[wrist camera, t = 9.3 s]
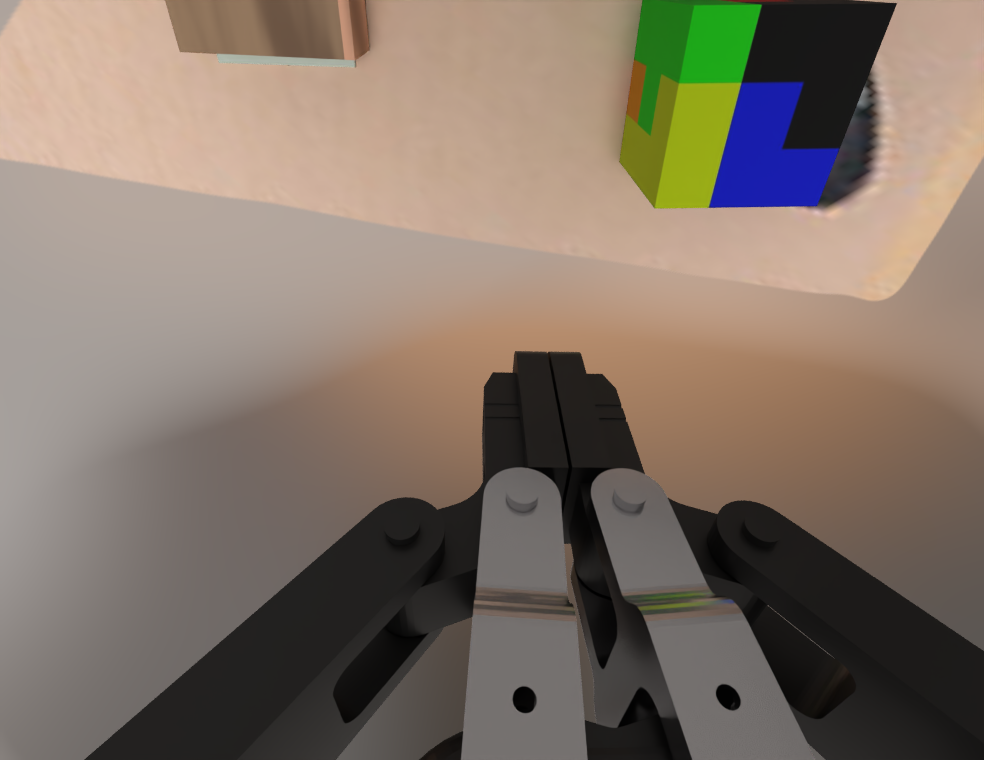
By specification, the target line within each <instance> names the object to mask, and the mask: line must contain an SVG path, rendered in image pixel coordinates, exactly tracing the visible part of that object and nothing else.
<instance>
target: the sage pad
mask: <svg viewBox="0 0 984 760" xmlns="http://www.w3.org/2000/svg"><path fill="white" fill-rule="evenodd" d="M217 57H218V60H219V63H241V64H270V65H300V66H330V67H356V61H355V60H339V59H318V58H297V57H276V56H254V55H233V54H217Z"/></svg>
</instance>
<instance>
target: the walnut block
mask: <svg viewBox="0 0 984 760" xmlns="http://www.w3.org/2000/svg"><path fill="white" fill-rule="evenodd" d="M165 1H166V5H167V8H168V12H169V15H170V19H171V22H172V26H173V29H174V33H175V36H176V40H177V43H178V47H179V50H180V52H191V53H212V54H233V55H254V56H276V57H297V58H318V59H339V60H356V59H358V58H359V57H360V56H362V55H363V54H365V53H366V52H368V51H369V40H368V29H367V19H366V8H365V0H165Z"/></svg>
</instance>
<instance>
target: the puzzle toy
mask: <svg viewBox="0 0 984 760" xmlns="http://www.w3.org/2000/svg"><path fill="white" fill-rule="evenodd" d="M896 5H897V3H885V2H870V1H855V0H643V1H642V8H641V15H640V22H639V29H638V36H637V43H636V50H635V57H634V63H633V70H632V77H631V84H630V91H629V98H628V105H627V112H626V119H625V126H624V133H623V140H622V147H621V154H620V161H619V162H620V163H621V164H622V166H623V167H624V168H625V170H626V171H627V172H628V174H629V175H630V176H631V178H632V179H633V180H634V182H635V183H636V184H637V186H638V187H639V188H640V190H641V191H642V192H643V194H644V195H645V196H646V198H647V199H648V200H649V202H650V203H651V204H652V206H653V207H654V208H721V207H790V206H817V204H818V202H819V199H820V197H821V194H822V192H823V189H824V187H825V184H826V182H827V179H828V177H829V174H830V172H831V169H832V166H833V164H834V161H835V159H836V156H837V154H838V151H839V149H840V146H841V144H842V141H843V139H844V136H845V134H846V131H847V129H848V126H849V123H850V121H851V118H852V116H853V113H854V111H855V108H856V106H857V103H858V101H859V98H860V96H861V93H862V91H863V88H864V85H865V83H866V80H867V78H868V75H869V73H870V70H871V68H872V65H873V63H874V60H875V58H876V55H877V53H878V50H879V48H880V45H881V42H882V40H883V37H884V35H885V32H886V30H887V27H888V25H889V22H890V20H891V17H892V15H893V12H894V10H895V7H896Z"/></svg>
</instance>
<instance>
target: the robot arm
mask: <svg viewBox="0 0 984 760" xmlns="http://www.w3.org/2000/svg"><path fill="white" fill-rule="evenodd" d="M482 431H483V432H482V443H483V445H482V449H483V483H482V485H481V487H480V488H479V489H478V491H477V492H476V493H475V494H474V495H472V496H471V497H470V498H468V499H467V500H465V501H463V502H461V503H458V504H455V505H452V506H449V507H445V508H442V509H439V510H437V509H436V508H435V507H433V506H432V505H431V504H429V503H428V502H426V501H423V500H421V499H416V498H406V497H405V498H397V499H393V500H390V501H387V502H385V503H383V504H381V505H379V506H378V507H377V508H375V509H374V510H373V511H372V512H370V513H369V514H368V515H367V516H366V517H365V518H364V519H362V520H361V521H360V522H359V523H358V524H357V525H355V526H354V527H353V528H352V529H351V530H350V531H349V532H347V533H346V534H345V535H344V536H343V537H342V538H340V539H339V540H338V541H337V542H336V543H335V544H333V545H332V546H331V547H330V548H329V549H328V550H326V551H325V552H324V553H323V554H322V555H321V556H320V557H318V558H317V559H316V560H315V561H314V562H313V563H311V564H310V565H309V566H308V567H307V568H306V569H305V570H303V571H302V572H301V573H300V574H299V575H298V576H296V577H295V578H294V579H293V580H292V581H291V582H289V583H288V584H287V585H286V586H285V587H284V588H283V589H281V590H280V591H279V592H278V593H277V594H276V595H274V596H273V597H272V598H271V599H270V600H269V601H267V602H266V603H265V604H264V605H263V606H262V607H261V608H259V609H258V610H257V611H256V612H255V613H254V614H252V615H251V616H250V617H249V618H248V619H247V620H245V621H244V622H243V623H242V624H241V625H240V626H239V627H237V628H236V629H235V630H234V631H233V632H232V633H231V634H229V635H228V636H227V637H226V638H225V639H224V640H222V641H221V642H220V643H219V644H218V645H217V646H215V647H214V648H213V649H212V650H211V651H210V652H208V653H207V654H206V655H205V656H204V657H203V658H202V659H200V660H199V661H198V662H197V663H196V664H195V665H194V666H192V667H191V668H190V669H189V670H188V671H186V672H185V673H184V674H183V675H182V676H181V677H180V678H178V679H177V680H176V681H175V682H174V683H173V684H172V685H170V686H169V687H168V688H167V689H166V690H165V691H164V692H162V693H161V694H160V695H159V696H158V697H157V698H155V699H154V700H153V701H152V702H151V703H149V704H148V705H147V706H146V707H145V708H144V709H142V711H140V712H139V713H138V714H137V715H136V716H134V717H133V718H132V719H131V720H130V721H129V722H127V723H126V724H125V725H124V726H123V727H122V728H120V729H119V730H118V731H117V732H116V733H115V734H113V735H112V736H111V737H110V738H109V739H108V740H107V741H105V742H104V743H103V744H102V745H101V746H100V747H99V748H97V749H96V750H95V751H94V752H93V753H92V754H90V755H89V756H88V757H87V758H86V759H85V760H336V759H337V758H338V756H339V755H340V754H341V753H342V752H343V750H344V749H345V748H346V747H347V746H348V744H349V743H350V742H351V741H352V739H353V738H354V737H355V736H356V735H357V733H358V732H359V731H360V730H361V729H362V727H363V726H364V725H365V724H366V723H367V721H368V720H369V719H370V718H371V717H372V715H373V714H374V713H375V712H376V710H377V709H378V708H379V707H380V705H381V704H382V703H383V702H384V701H385V700H386V698H387V697H388V696H389V695H390V694H391V692H392V691H393V690H394V689H395V687H396V686H397V685H398V684H399V683H400V681H401V680H402V679H403V678H404V677H405V675H406V674H407V673H408V672H409V671H410V669H411V668H412V667H413V666H414V664H415V663H416V662H417V661H418V660H419V658H420V657H421V656H422V655H423V654H424V652H425V651H426V650H427V649H428V647H429V646H430V645H431V644H432V643H433V642H434V640H435V639H436V638H437V636H438V635H439V634H440V633H441V631H442V630H443V628H444V627H445V626H448V625H451V624H454V623H457V622H459V621H462V620H465V619H467V618H470V617H473V619H472V632H471V644H470V656H469V669H468V680H467V692H466V705H465V718H464V729H463V731H462V732H459V733H457V734H455V735H453V736H451V737H450V738H448V739H446V740H444V741H442V742H441V743H439V744H438V745H437V746H435V747H434V748H432V749H431V750H430V751H428V752H427V753H426V754H425V755H424V756H423V757H422V758H421V759H419V760H816V759H815V757H814V755H813V753H812V751H811V749H810V747H809V745H810V746H812V747H813V748H814V749H815V750H816V751H817V752H818V753H819V754H820V755H821V756H822V757H824V758H825V759H826V760H984V651H983V650H981V649H980V648H978V647H977V646H975V645H974V644H972V643H971V642H969V641H968V640H966V639H965V638H964V637H962V636H961V635H959V634H958V633H956V632H955V631H953V630H952V629H950V628H948V627H947V626H946V625H944V624H943V623H941V622H940V621H938V620H937V619H935V618H934V617H932V616H931V615H929V614H928V613H926V612H925V611H924V610H922V609H921V608H919V607H918V606H916V605H915V604H913V603H912V602H910V601H909V600H907V599H906V598H904V597H903V596H901V595H900V594H898V593H897V592H895V591H894V590H892V589H891V588H889V587H888V586H887V585H885V584H884V583H882V582H881V581H879V580H878V579H876V578H875V577H873V576H871V575H870V574H869V573H867V572H866V571H864V570H863V569H861V568H860V567H858V566H857V565H855V564H854V563H852V562H851V561H849V560H848V559H847V558H845V557H843V556H842V555H840V554H839V553H838V552H836V551H835V550H833V549H832V548H830V547H829V546H827V545H826V544H824V543H823V542H821V541H820V540H818V539H817V538H815V537H814V536H812V535H811V534H810V533H808V532H806V531H805V530H803V529H802V528H801V527H799V526H798V525H796V524H795V523H793V522H792V521H790V520H789V519H787V518H786V517H784V516H783V515H781V514H780V513H778V512H777V511H775V510H773V509H772V508H770V507H767V506H765V505H763V504H760V503H756V502H752V501H734V502H731V503H729V504H726V505H725V506H723V507H722V508H721V510H720V511H719V513H718V514H715V513H711V512H708V511H704V510H700V509H696V508H693V507H689V506H686V505H683V504H680V503H677V502H675V501H673V500H671V499H669V498H667V496H666V494H665V493H664V490H663V489H662V488H661V487H660V485H659V484H658V483H657V482H656V481H654V480H653V479H651V478H650V477H649V476H647V475H645V473H644V470H643V467H642V464H641V461H640V458H639V455H638V452H637V450H636V447H635V444H634V441H633V438H632V435H631V432H630V429H629V426H628V423H627V422H626V417H625V414H624V411H623V409H622V408H621V402H620V399H619V396H618V393H617V390H616V388H615V387H614V386H613V385H612V384H611V383H610V382H609V381H608V380H607V379H606V378H605V377H604V376H603V374H586V370H585V367H584V363H583V359H582V356H581V353H580V352H548V353H547V352H530V351H515V354H514V364H513V373H495V372H493V373H492V375H491V376H490V378H489V380H488V381H487V383H486V384H485V386H484V403H483V429H482ZM564 544H571V547H572V553H573V559H574V560H573V564H572V568H571V575H570V578H571V584H572V588H573V592H574V596H575V600H576V605H577V609H578V613H579V617H580V622H581V626H582V630H583V634H584V639H585V643H586V647H587V651H588V655H589V660H590V664H591V668H592V673H593V680H594V708H595V717H596V723H597V724H596V723H592V722H589V721H585V720H584V709H583V696H582V684H581V671H580V659H579V646H578V633H577V622H576V615H575V610H574V607H573V604H572V603H569V600H568V594H567V580H566V567H565V552H564ZM767 605H769V606H770V607H771V608H772V609H774V610H775V611H776V612H777V613H779V614H780V615H781V616H782V617H784V618H785V619H786V620H787V621H789V622H790V623H791V624H792V625H794V626H795V627H796V628H798V629H799V630H800V631H801V632H803V633H804V634H805V635H806V636H808V637H809V638H810V639H811V640H813V641H814V642H815V643H816V644H818V645H819V646H820V647H821V648H823V649H824V650H825V651H826V652H828V653H829V654H830V655H831V656H830V655H829V654H827V653H826V652H825V651H824V650H822V649H821V648H820V647H819V646H817V645H816V644H815V643H814V642H812V641H811V640H810V639H809V638H807V637H806V636H805V635H803V634H802V633H801V632H800V631H799V630H797V629H796V628H794V627H793V626H792V625H791V624H790V623H788V622H787V621H786V620H785V619H783V618H782V617H781V616H780V615H778V614H777V613H776V612H775V611H773V610H772V609H771V608H770V607H768V606H767ZM832 656H833V657H834V658H833V657H832ZM808 744H809V745H808Z"/></svg>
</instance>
